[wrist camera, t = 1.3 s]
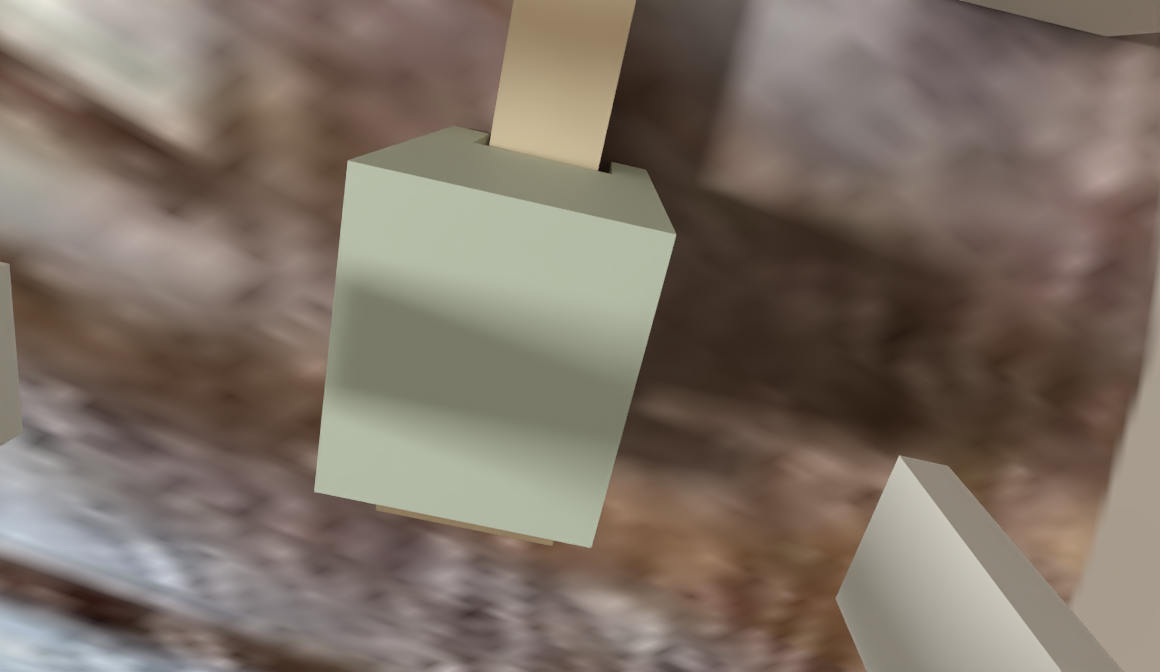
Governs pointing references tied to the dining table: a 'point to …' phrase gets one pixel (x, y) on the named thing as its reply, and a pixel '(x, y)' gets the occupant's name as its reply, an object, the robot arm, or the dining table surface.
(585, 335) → the block
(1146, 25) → the white tall block
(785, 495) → the dining table surface
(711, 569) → the dining table surface
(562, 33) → the rail
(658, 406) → the dining table surface
